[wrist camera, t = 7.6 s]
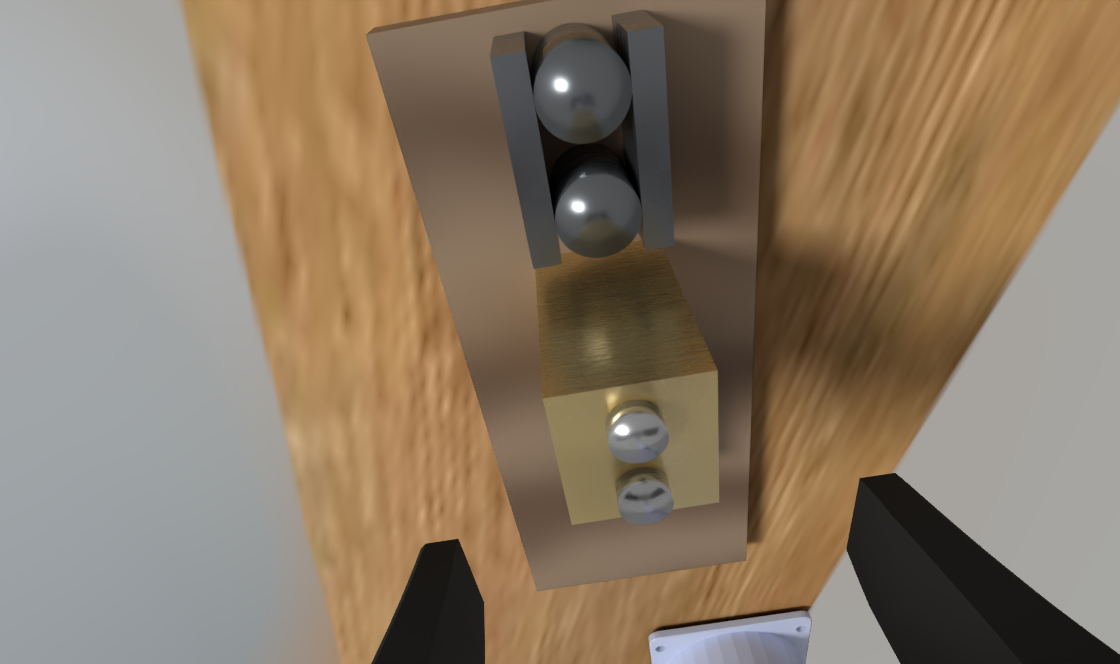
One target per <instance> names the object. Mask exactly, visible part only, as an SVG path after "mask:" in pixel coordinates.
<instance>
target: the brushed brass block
mask: <svg viewBox="0 0 1120 664" xmlns="http://www.w3.org/2000/svg"><path fill="white" fill-rule="evenodd" d="M561 259H562V264H561V265H555V266H549V267H543V268H537V269H535V276H536V294H537V311H538V329H539V346H540V363H541V381H542V398H543V403H544V407H545V412H546V416H547V420H548V425H549V429H550V433H551V437H552V442H553V446H554V450H555V455H556V459H557V463H558V468H559V472H560V476H561V481H562V485H563V489H564V493H565V498H566V502H567V506H568V511H569V515H570V519H571V524H572V525H575V524H582V523H588V522H595V521H601V520H608V519H614V518H621V517H623V518H624V519H625V520H626V521H628V522H630V523H633V524H640V525H645V524H652V523H655V522H658V521H660V520H662V519H664V518H665V517H667V516H668V515H669V514H670V513H671V511H672V510H673V509H679V508H686V507H692V506H699V505H706V504H712V503H719V438H718V370H717V368H716V366H715V363H714V361H713V359H712V357H711V354H710V352H709V350H708V348H707V345H706V343H705V341H704V339H703V336H702V334H701V332H700V330H699V327H698V325H697V323H696V321H695V318H694V316H693V314H692V312H691V309H690V307H689V305H688V303H687V300H686V298H685V296H684V294H683V291H682V289H681V287H680V285H679V283H678V280H677V278H676V276H675V274H674V271H673V269H672V267H671V265H670V262H669V260H668V258H667V256H666V253H665V251H664V249H663V248H657V249H651V250H645V248H644V245H643V243H642V240H639V241H633V242H631V243H630V244H629V245H628V246H627V247H626V248H624V249H623V250H621V251H620V252H618V253H616V254H614V255H611V256H607V257H602V258H590V257H585V256H581V255H579V254H576V253H575V252H569V253H563V254H561Z"/></svg>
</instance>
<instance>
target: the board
mask: <svg viewBox="0 0 1120 664" xmlns="http://www.w3.org/2000/svg"><path fill="white" fill-rule="evenodd" d="M637 10H643V11H645V12H646V13H647V14H649V15H650V16H651V17H653V18H654V19H655V20H657V21H658V22H659V23H661V24H662V25H663V27H664V46H665V66H666V85H667V104H668V124H669V143H670V163H671V182H672V202H673V221H674V241H675V246H669V247H663V249H664V251H665V253H666V256H667V258H668V260H669V262H670V265H671V267H672V269H673V271H674V274H675V276H676V278H677V280H678V283H679V285H680V287H681V289H682V291H683V294H684V296H685V298H686V300H687V303H688V305H689V307H690V309H691V312H692V314H693V316H694V318H695V321H696V323H697V325H698V327H699V330H700V332H701V334H702V336H703V339H704V341H705V343H706V345H707V348H708V350H709V352H710V354H711V357H712V359H713V361H714V363H715V366H716V368H717V370H718V438H719V503H712V504H706V505H699V506H692V507H686V508H679V509H673V510H672V511H671V513H670V514H669V515H668V516H667V517H665V518H664V519H662V520H660V521H658V522H655V523H652V524H645V525H640V524H633V523H630V522H628V521H626V520H625V519H624V518H623V517H621V518H614V519H608V520H601V521H595V522H588V523H582V524H575V525H572V524H571V519H570V515H569V511H568V506H567V502H566V498H565V493H564V489H563V485H562V481H561V476H560V472H559V468H558V463H557V459H556V455H555V450H554V446H553V442H552V437H551V433H550V429H549V425H548V420H547V416H546V412H545V407H544V403H543V398H542V381H541V363H540V346H539V329H538V311H537V294H536V276H535V269H533V265H532V260H531V256H530V251H529V246H528V241H527V236H526V231H525V226H524V221H523V217H522V212H521V207H520V202H519V197H518V192H517V187H516V183H515V178H514V173H513V168H512V163H511V158H510V153H509V148H508V144H507V139H506V134H505V129H504V124H503V119H502V114H501V109H500V105H499V100H498V95H497V90H496V85H495V80H494V75H493V70H492V66H491V61H490V52H491V47H492V41H493V37H494V36H499V35H505V34H510V33H516V32H521V31H524V36H525V42H526V47H527V53H528V59H529V65H530V71H531V62H532V57H533V53H534V51H535V49H536V47H537V45H538V43H539V42H540V40H541V39H542V38H543V37H544V36H545V35H546V33H548V32H549V31H550V30H552V29H553V28H555V27H557V26H559V25H562V24H566V23H583V24H587V25H589V26H592V27H593V28H595V29H597V30H598V31H600V32H601V33H602V34H603V35H604V36H605V38H606V39H607V40H608V41H609V43H610V44H611V45H612V47H613V48H614V40H613V30H612V19H611V15H615V14H620V13H626V12H631V11H637ZM765 11H766V0H523V1H518V2H512V3H507V4H501V5H496V6H490V7H485V8H479V9H474V10H469V11H463V12H458V13H452V14H447V15H441V16H436V17H431V18H425V19H420V20H414V21H409V22H403V23H398V24H392V25H387V26H382V27H376V28H373V29H372V30H371V31H370V32H368V33H367V34H366V37H367V41H368V44H369V47H370V50H371V54H372V57H373V60H374V63H375V67H376V70H377V73H378V76H379V80H380V83H381V86H382V89H383V93H384V96H385V99H386V102H387V106H388V109H389V112H390V115H391V119H392V122H393V125H394V128H395V132H396V135H397V138H398V141H399V145H400V148H401V151H402V154H403V158H404V161H405V164H406V167H407V171H408V174H409V177H410V180H411V184H412V187H413V190H414V193H415V196H416V200H417V203H418V206H419V209H420V213H421V216H422V219H423V222H424V226H425V229H426V232H427V235H428V239H429V242H430V245H431V248H432V252H433V255H434V258H435V261H436V265H437V268H438V271H439V274H440V278H441V281H442V284H443V287H444V291H445V294H446V297H447V300H448V304H449V307H450V310H451V313H452V317H453V320H454V323H455V326H456V330H457V333H458V336H459V339H460V343H461V346H462V349H463V352H464V355H465V359H466V362H467V365H468V368H469V372H470V375H471V378H472V381H473V385H474V388H475V391H476V394H477V398H478V401H479V404H480V407H481V411H482V414H483V417H484V420H485V424H486V427H487V430H488V433H489V437H490V440H491V443H492V446H493V450H494V453H495V456H496V459H497V463H498V466H499V469H500V472H501V476H502V479H503V482H504V485H505V489H506V492H507V495H508V498H509V502H510V505H511V508H512V511H513V514H514V518H515V521H516V524H517V527H518V531H519V534H520V537H521V540H522V544H523V547H524V550H525V553H526V557H527V560H528V563H529V566H530V570H531V573H532V576H533V579H534V583H535V586H536V589H537V591H543V590H549V589H556V588H563V587H570V586H576V585H583V584H590V583H597V582H604V581H610V580H617V579H624V578H631V577H638V576H644V575H651V574H658V573H665V572H672V571H678V570H685V569H692V568H699V567H706V566H712V565H719V564H726V563H733V562H740V561H746V549H747V521H748V492H749V464H750V436H751V407H752V379H753V351H754V322H755V294H756V266H757V237H758V209H759V181H760V153H761V124H762V96H763V68H764V39H765ZM531 77H532V76H531ZM538 117H539V116H538ZM539 123H540V129H541V135H542V141H543V147H544V152H545V158H546V164H547V170H548V176H549V182H550V176H551V171H552V168H553V166H554V164H555V162H556V161H557V159H558V158H559V157H560V156H561V155H562V154H563V153H564V152H565V151H566V150H568V149H569V148H571V147H573V146H575V145H578V144H575V143H570V142H566V141H564V140H561V139H559V138H558V137H556V136H554V135H553V134H552V133H551V132H549V131H548V130H547V128H546V127H545V126H544V125H543V123H542V122H541V120H540V118H539ZM592 143H598V144H602V145H605V146H607V147H609V148H610V149H612V150H613V151H614V152H616V153H617V155H618V156H619V157H620V158H621V160H622V162H623V164H624V166H625V156H624V145H623V135H622V124H620V125H619V126H618V128H617V129H616V130H614V131H613V132H612V133H611V134H610V135H608V136H607V137H605V138H603V139H601V140H599V141H596V142H592ZM625 168H626V166H625ZM558 237H559V235H558ZM639 240H641V238H640V235H639V233H637V235H636V237H635V238H634V240H633V241H639ZM633 241H632V242H633ZM559 244H560V252H561V254H563V253H569V252H573V251H571V250H570V249H569V248H568V247H567V246H566V245H565V244H564V243H563V242H562V241H561V239H560V237H559Z"/></svg>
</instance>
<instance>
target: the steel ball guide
mask: <svg viewBox="0 0 1120 664" xmlns="http://www.w3.org/2000/svg"><path fill="white" fill-rule="evenodd" d="M611 19H612V30H613V40H614V48H613V47H612V45H611V44H610V43H609V41H608V40H607V39H606V38H605V36H604V35H603V34H602V33H601V32H600V31H598V30H597V29H595V28H593V27H592V26H589V25H587V24H583V23H566V24H562V25H559V26H557V27H555V28H553V29H552V30H550V31H549V32H548V33H546V35H545V36H544V37H543V38H542V39H541V40H540V42H539V43H538V45H537V47H536V49H535V51H534V53H533V57H532V62H531V71H530V65H529V59H528V53H527V47H526V42H525V36H524V31H521V32H516V33H510V34H505V35H499V36H494V37H493V41H492V47H491V52H490V61H491V66H492V70H493V75H494V80H495V85H496V90H497V95H498V100H499V105H500V109H501V114H502V119H503V124H504V129H505V134H506V139H507V144H508V148H509V153H510V158H511V163H512V168H513V173H514V178H515V183H516V187H517V192H518V197H519V202H520V207H521V212H522V217H523V221H524V226H525V231H526V236H527V241H528V246H529V251H530V256H531V260H532V265H533V269H537V268H543V267H549V266H555V265H561V264H562V259H561V252H560V244H559V237H560V239H561V241H562V242H563V243H564V244H565V245H566V246H567V247H568V248H569V249H570V250H571V251H573V252H575V253H576V254H579V255H581V256H585V257H590V258H602V257H607V256H611V255H614V254H616V253H618V252H620V251H621V250H623V249H624V248H626V247H627V246H628V245H629V244H630V243H631V242H632V241H633V240H634V238H635V237H636V235H637V233H639V235H640V238H641V240H642V243H643V245H644V248H645V250H651V249H657V248H663V247H669V246H675V241H674V221H673V202H672V182H671V163H670V143H669V124H668V104H667V85H666V66H665V46H664V27H663V25H662V24H661V23H659V22H658V21H657V20H655V19H654V18H653V17H651V16H650V15H649V14H647V13H646V12H645V11H643V10H637V11H631V12H626V13H620V14H615V15H611ZM531 76H532V77H531ZM538 116H539V117H538ZM539 118H540V120H541V122H542V123H543V125H544V126H545V127H546V128H547V130H548V131H549V132H551V133H552V134H553V135H554V136H556V137H558V138H559V139H561V140H564V141H566V142H570V143H575V144H578V145H575V146H573V147H571V148H569V149H568V150H566V151H565V152H564V153H563V154H562V155H561V156H560V157H559V158H558V159H557V161H556V162H555V164H554V166H553V168H552V171H551V176H550V182H549V176H548V170H547V164H546V158H545V152H544V147H543V141H542V135H541V129H540V123H539ZM620 124H622V135H623V145H624V156H625V166H626V168H625V166H624V164H623V162H622V160H621V158H620V157H619V156H618V155H617V153H616V152H614V151H613V150H612V149H610V148H609V147H607V146H605V145H602V144H598V143H592V142H596V141H599V140H601V139H603V138H605V137H607V136H608V135H610V134H611V133H612V132H613V131H614V130H616V129H617V128H618V126H619V125H620ZM558 235H559V237H558Z"/></svg>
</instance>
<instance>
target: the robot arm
mask: <svg viewBox="0 0 1120 664" xmlns="http://www.w3.org/2000/svg"><path fill="white" fill-rule="evenodd" d="M847 552H848V554H849V557H850V559H851V562H852V565H853V567H854V570H855V572H856V575H857V577H858V580H859V582H860V584H861V587H862V589H863V592H864V594H865V596H866V599H867V601H868V603H869V606H870V608H871V610H872V612H873V613H874V615H875V617H876V619H877V621H878V623H879V625H880V626H881V628H882V630H883V632H884V634H885V636H886V638H887V640H888V641H889V643H890V645H891V647H892V649H893V651H894V652H895V654H896V656H897V658H898V660H899V662H900V663H901V664H1120V654H1118V653H1117V652H1116V651H1114V650H1113V649H1111V648H1110V647H1109V646H1107V645H1106V644H1105V643H1103V642H1102V641H1100V640H1099V639H1098V638H1096V637H1095V636H1094V635H1092V634H1091V633H1090V632H1088V631H1087V630H1086V629H1084V628H1083V627H1082V626H1080V625H1079V624H1077V623H1076V622H1075V621H1074V620H1072V619H1071V618H1070V617H1068V616H1067V615H1065V614H1064V613H1063V612H1062V611H1060V610H1059V609H1057V608H1056V607H1055V606H1053V605H1052V604H1051V603H1050V602H1048V601H1047V600H1046V599H1045V598H1043V597H1042V596H1041V595H1040V594H1038V593H1037V592H1035V590H1033V589H1032V588H1031V587H1029V586H1028V585H1027V584H1026V583H1024V582H1023V581H1022V580H1021V579H1020V578H1018V577H1017V576H1016V575H1014V573H1012V572H1011V571H1010V570H1008V569H1007V568H1006V567H1005V566H1004V565H1002V564H1001V563H1000V562H999V561H997V560H996V559H995V558H994V557H993V556H991V555H990V554H988V552H986V551H985V550H984V549H983V548H982V547H981V546H979V545H978V544H977V543H976V542H974V541H973V540H972V539H971V538H970V537H969V536H968V535H966V534H965V533H964V532H963V531H962V530H961V529H959V528H958V527H957V526H956V525H955V524H953V523H952V522H951V521H950V520H949V519H948V518H947V517H945V516H944V515H943V514H942V513H941V512H940V511H938V510H937V509H936V508H935V507H934V506H933V505H932V504H931V503H929V502H928V501H927V500H926V499H925V498H924V497H923V496H921V495H920V494H919V493H918V492H917V491H916V490H915V489H913V488H912V487H911V486H910V485H909V484H908V483H906V482H905V481H904V480H903V479H902V478H900V477H899V476H898V475H897V474H896V473H892V474H885V475H878V476H872V477H865V478H860V480H859V486H858V491H857V496H856V501H855V507H854V512H853V517H852V522H851V528H850V533H849V538H848V544H847ZM811 623H812V620H811V617H810V615H809V613H808V612H806V611H794V612H787V613H780V614H773V615H766V616H759V617H752V618H745V619H738V620H732V621H725V622H718V623H711V624H704V625H697V626H690V627H683V628H676V629H669V630H662V631H656V632H653V633H651V634H650V636H649V646H650V653H651V661H652V664H805V662H806V656H807V649H808V642H809V636H810V630H811ZM371 664H485V628H484V601H483V599H482V597H481V594H480V592H479V589H478V587H477V584H476V582H475V579H474V577H473V574H472V572H471V569H470V567H469V564H468V562H467V559H466V557H465V554H464V552H463V549H462V547H461V544H460V542H459V539H454V540H448V541H441V542H434V543H428V544H425V545H424V546H423V547H422V548H421V550H420V553H419V555H418V558H417V561H416V563H415V566H414V568H413V571H412V573H411V576H410V578H409V581H408V583H407V586H406V588H405V590H404V593H403V595H402V598H401V600H400V602H399V605H398V607H397V609H396V611H395V614H394V616H393V618H392V620H391V623H390V625H389V627H388V629H387V632H386V634H385V636H384V638H383V640H382V642H381V644H380V646H379V649H378V651H377V653H376V655H375V657H374V659H373V661H372V663H371Z"/></svg>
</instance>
